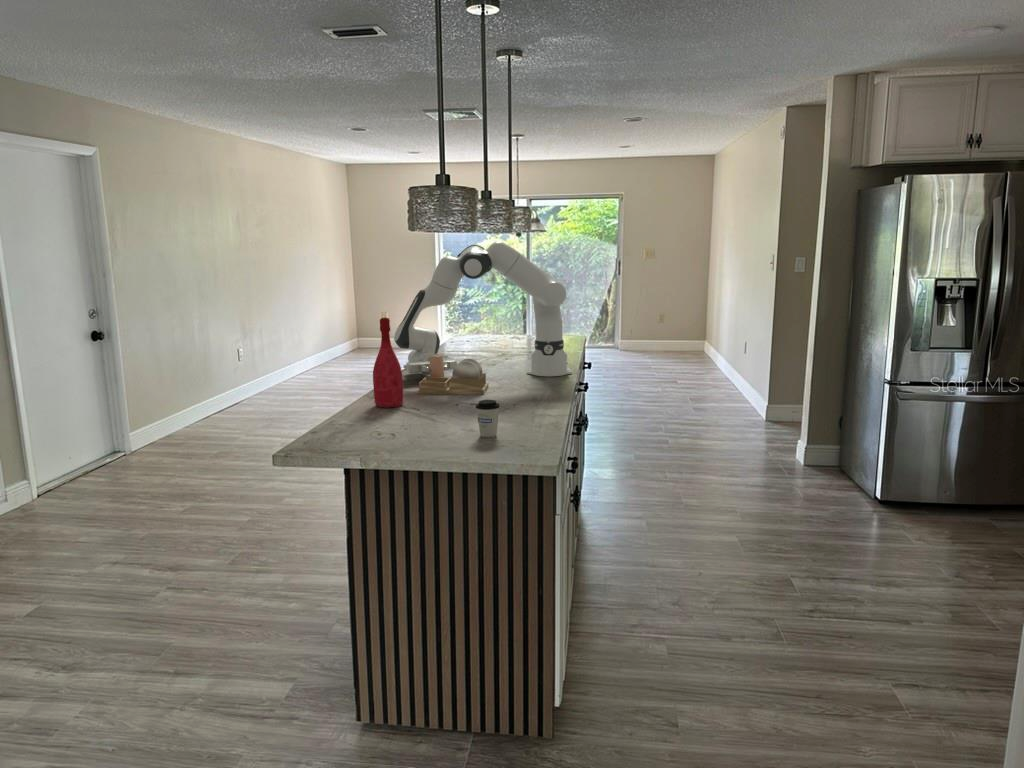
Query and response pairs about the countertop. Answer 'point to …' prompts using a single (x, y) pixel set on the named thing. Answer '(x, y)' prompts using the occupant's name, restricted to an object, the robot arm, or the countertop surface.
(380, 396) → the wine bottle
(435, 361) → the peach rounded cylinder
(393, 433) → the countertop surface
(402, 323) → the robot arm
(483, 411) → the coffee cup
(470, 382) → the rack
